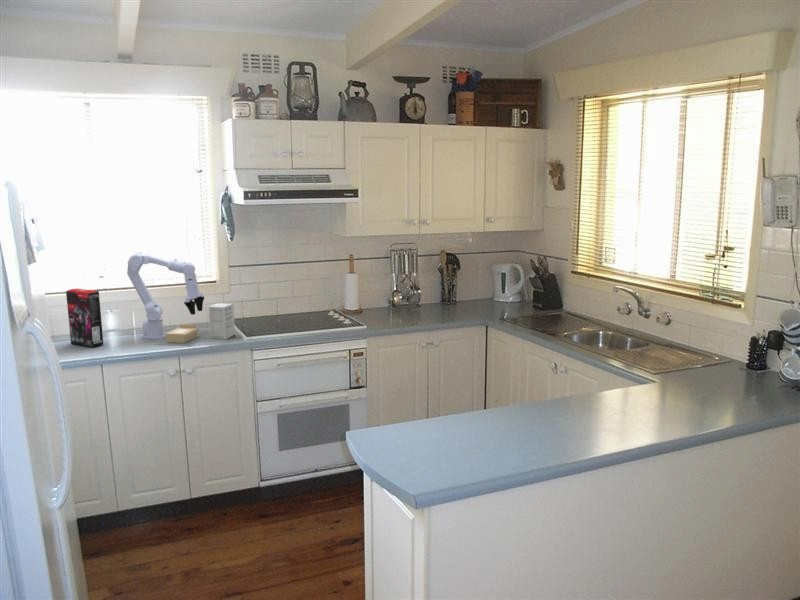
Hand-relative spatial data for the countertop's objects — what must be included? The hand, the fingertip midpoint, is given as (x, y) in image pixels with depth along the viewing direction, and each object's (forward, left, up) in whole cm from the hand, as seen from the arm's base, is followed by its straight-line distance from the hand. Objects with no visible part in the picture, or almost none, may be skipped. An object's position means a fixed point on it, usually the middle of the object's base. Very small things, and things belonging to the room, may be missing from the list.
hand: (196, 312), depth 345 cm
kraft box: (-2, -12, -12) cm, 17 cm away
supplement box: (+15, -2, -12) cm, 19 cm away
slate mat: (-2, -13, -12) cm, 18 cm away
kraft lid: (-2, -12, -8) cm, 15 cm away
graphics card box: (-45, -27, -12) cm, 54 cm away
